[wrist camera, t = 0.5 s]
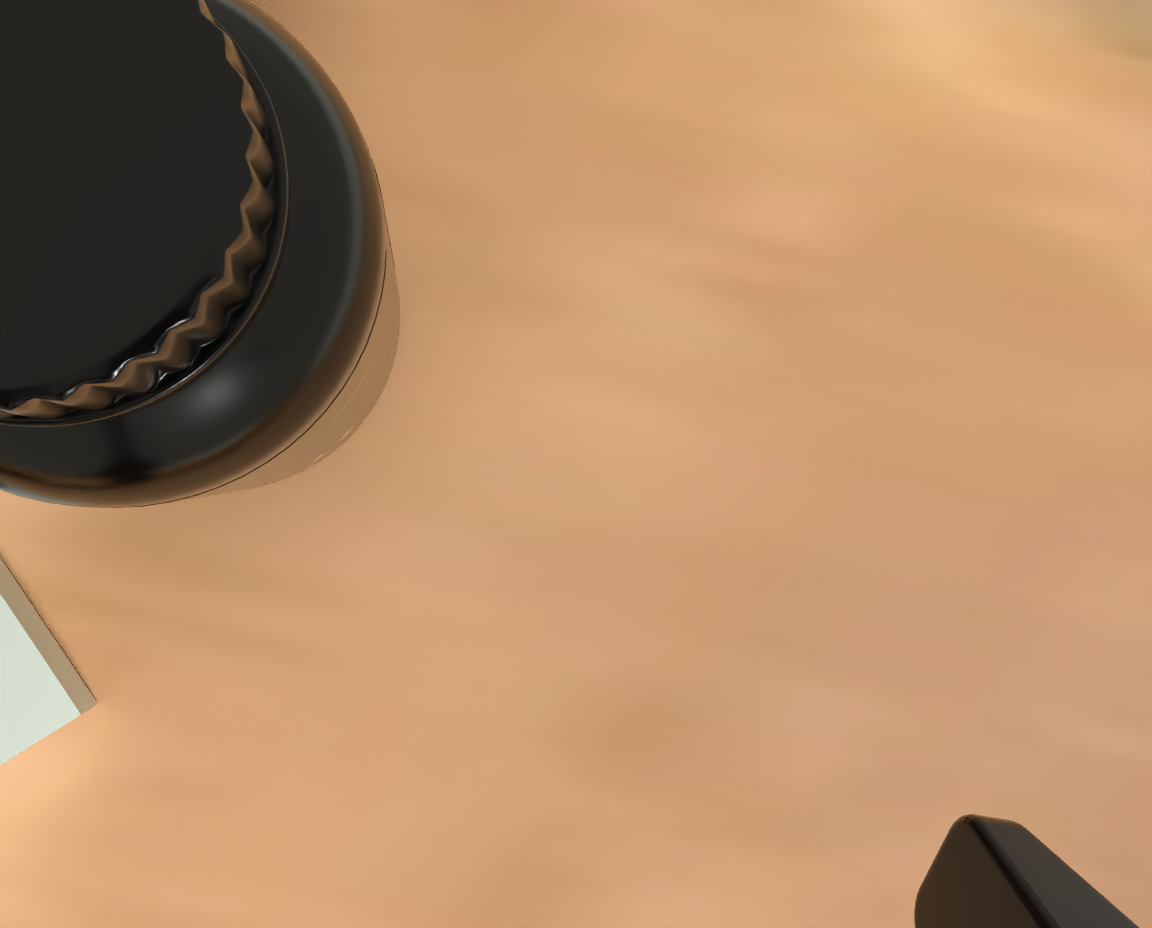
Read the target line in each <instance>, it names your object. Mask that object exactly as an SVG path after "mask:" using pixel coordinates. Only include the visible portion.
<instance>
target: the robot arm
mask: <svg viewBox="0 0 1152 928" xmlns="http://www.w3.org/2000/svg"><path fill="white" fill-rule="evenodd" d="M915 928H1139V927H1138V926H1137V925H1136V924H1134V923H1133V922H1132V921H1131V920H1130V919H1129V918H1128V917H1126V916H1125V915H1124V914H1123V913H1122V912H1121V911H1120V910H1118V909H1117V908H1116V907H1115V906H1114V905H1113V904H1112V903H1110V902H1109V901H1108V900H1107V899H1106V898H1105V897H1104V896H1102V895H1101V894H1100V893H1099V892H1098V891H1097V890H1096V889H1094V888H1093V887H1092V886H1091V885H1090V884H1089V883H1088V882H1086V881H1085V880H1084V879H1083V878H1082V877H1081V876H1080V875H1078V874H1077V873H1076V872H1075V871H1074V870H1073V869H1072V868H1070V867H1069V866H1068V865H1067V864H1066V863H1065V862H1064V861H1062V860H1061V859H1060V858H1059V857H1058V856H1057V855H1056V854H1054V853H1053V852H1052V851H1051V850H1050V849H1049V848H1048V847H1047V846H1045V845H1044V844H1043V843H1042V842H1041V841H1040V840H1039V839H1037V838H1036V837H1035V836H1034V835H1033V834H1032V833H1031V832H1029V831H1028V830H1027V829H1026V828H1025V827H1023V826H1022V825H1020V824H1018V823H1016V822H1014V821H1010V820H1005V819H999V818H993V817H986V816H980V815H974V814H970V815H964V816H962V817H960V818H959V819H958V820H956V821H955V822H954V824H953V825H952V827H951V828H950V830H949V832H948V834H947V836H946V838H945V840H944V842H943V844H942V846H941V848H940V849H939V851H938V853H937V855H936V857H935V859H934V861H933V863H932V865H931V867H930V869H929V871H928V873H927V875H926V877H925V879H924V881H923V882H922V884H921V886H920V889H919V891H918V894H917V898H916V902H915Z"/></svg>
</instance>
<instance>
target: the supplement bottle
mask: <svg viewBox="0 0 1152 928" xmlns="http://www.w3.org/2000/svg"><path fill="white" fill-rule="evenodd" d="M394 268H395V266H394V261H393V255H392V250H391V244H390V239H389V233H388V227H387V222H386V216H385V211H384V205H383V200H382V194H381V190H380V186H379V182H378V178H377V174H376V170H375V167H374V164H373V161H372V158H371V156H370V153H369V150H368V147H367V144H366V142H365V140H364V138H363V135H362V133H361V131H360V129H359V127H358V125H357V123H356V121H355V119H354V116H353V114H352V112H351V110H350V109H349V107H348V105H347V104H346V102H345V100H344V99H343V97H342V95H341V94H340V92H339V90H338V88H337V87H336V86H335V84H334V83H333V82H332V80H331V79H330V77H329V76H328V75H327V73H326V72H325V71H324V69H323V68H322V67H321V65H320V64H319V63H318V62H317V61H316V60H315V58H314V57H313V56H312V55H311V54H310V53H309V52H308V51H307V49H306V48H305V47H304V46H303V45H302V44H301V43H300V42H299V41H298V40H297V39H296V38H294V37H293V36H292V35H291V34H290V33H289V32H288V31H287V30H286V29H285V28H284V27H283V26H281V25H280V24H279V23H278V22H276V21H275V20H274V19H272V18H271V17H270V16H268V15H267V14H266V13H265V12H263V11H262V10H261V9H259V8H258V7H256V6H255V5H253V4H252V3H250V2H249V1H247V0H0V490H2V491H5V492H8V493H11V494H14V495H17V496H21V497H26V498H30V499H34V500H39V501H43V502H48V503H55V504H62V505H70V506H78V507H101V508H122V507H141V506H149V505H156V504H162V503H169V502H175V501H181V500H187V499H193V498H199V497H205V496H211V495H217V494H222V493H228V492H234V491H240V490H246V489H251V488H255V487H259V486H263V485H267V484H270V483H273V482H276V481H279V480H282V479H285V478H288V477H290V476H293V475H295V474H297V473H299V472H301V471H303V470H306V469H307V468H309V467H311V466H313V465H314V464H316V463H318V462H319V461H321V460H322V459H324V458H325V457H327V456H328V455H329V454H331V453H332V452H333V451H335V450H336V449H337V448H338V447H339V446H341V445H342V444H343V443H344V442H345V441H346V440H347V439H348V438H349V437H350V436H351V435H352V434H353V433H354V432H355V431H356V430H357V429H358V428H359V426H360V425H361V424H362V423H363V421H364V420H365V419H366V417H367V416H368V415H369V413H370V412H371V410H372V409H373V407H374V405H375V404H376V402H377V400H378V399H379V397H380V395H381V393H382V391H383V389H384V387H385V385H386V382H387V380H388V377H389V374H390V371H391V369H392V366H393V362H394V358H395V354H396V350H397V343H398V337H399V324H400V308H399V294H398V287H397V280H396V274H395V269H394Z"/></svg>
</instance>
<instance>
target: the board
mask: <svg viewBox="0 0 1152 928" xmlns="http://www.w3.org/2000/svg"><path fill="white" fill-rule="evenodd" d="M96 704H97V702H96V700H95V699H94V697H93V696H92V694H91V693H90V691H89V690H88V688H87V687H86V685H85V684H84V682H83V681H82V679H81V678H80V676H79V675H78V673H77V672H76V670H75V669H74V667H73V666H72V664H71V663H70V661H69V660H68V658H67V657H66V655H65V654H64V652H63V651H62V649H61V648H60V646H59V645H58V643H57V642H56V640H55V639H54V637H53V636H52V634H51V633H50V631H49V630H48V628H47V627H46V625H45V624H44V622H43V621H42V619H41V618H40V616H39V615H38V613H37V612H36V610H35V609H34V607H33V606H32V604H31V603H30V601H29V600H28V598H27V597H26V595H25V594H24V592H23V591H22V589H21V588H20V586H19V585H18V583H17V582H16V580H15V579H14V577H13V576H12V574H11V573H10V571H9V570H8V568H7V567H6V565H5V564H4V562H3V561H2V559H1V558H0V765H1V764H3V763H5V762H6V761H8V760H9V759H11V758H13V757H14V756H16V755H17V754H19V753H21V752H22V751H24V750H25V749H27V748H29V747H30V746H32V745H33V744H35V743H37V742H38V741H40V740H41V739H43V738H45V737H46V736H48V735H49V734H51V733H52V732H54V731H56V730H57V729H59V728H60V727H62V726H64V725H65V724H67V723H68V722H70V721H72V720H73V719H75V718H76V717H78V716H80V715H81V714H83V713H84V712H86V711H87V710H89V709H90V708H92V707H93V706H94V705H96Z"/></svg>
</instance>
